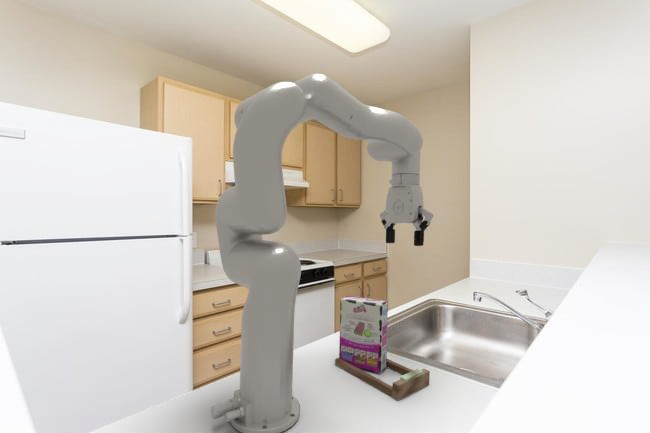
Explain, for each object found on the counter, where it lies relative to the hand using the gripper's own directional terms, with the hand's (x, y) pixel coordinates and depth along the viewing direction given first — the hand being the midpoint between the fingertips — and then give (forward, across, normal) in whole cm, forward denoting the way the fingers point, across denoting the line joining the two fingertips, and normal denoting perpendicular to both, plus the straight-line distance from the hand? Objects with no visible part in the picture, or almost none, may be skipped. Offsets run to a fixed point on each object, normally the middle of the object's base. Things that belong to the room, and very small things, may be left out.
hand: (403, 244), depth 88 cm
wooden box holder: (+30, +5, -14) cm, 33 cm away
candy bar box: (+30, -1, -14) cm, 33 cm away
